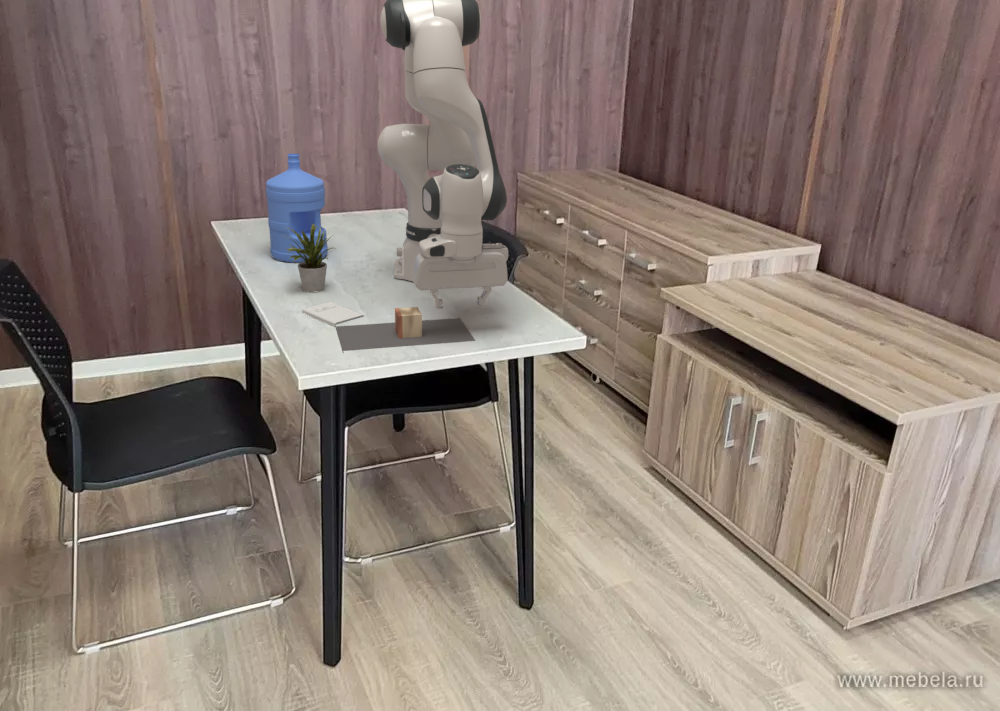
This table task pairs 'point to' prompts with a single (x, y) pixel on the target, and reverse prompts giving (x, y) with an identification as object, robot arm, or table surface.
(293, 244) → the water jug
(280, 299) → the table surface
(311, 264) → the house plant
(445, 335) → the rubber mat
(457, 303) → the table surface
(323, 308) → the external hard drive
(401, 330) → the maple block
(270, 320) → the table surface
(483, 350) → the table surface
